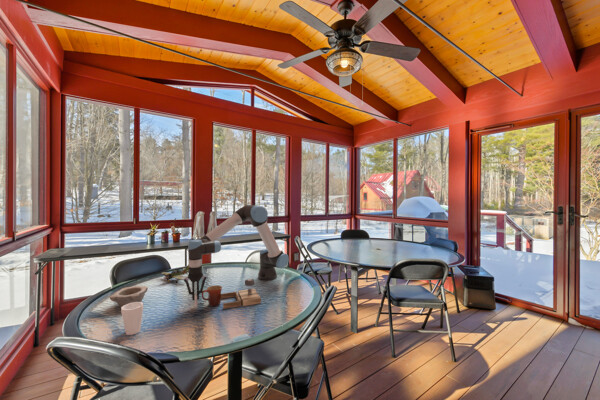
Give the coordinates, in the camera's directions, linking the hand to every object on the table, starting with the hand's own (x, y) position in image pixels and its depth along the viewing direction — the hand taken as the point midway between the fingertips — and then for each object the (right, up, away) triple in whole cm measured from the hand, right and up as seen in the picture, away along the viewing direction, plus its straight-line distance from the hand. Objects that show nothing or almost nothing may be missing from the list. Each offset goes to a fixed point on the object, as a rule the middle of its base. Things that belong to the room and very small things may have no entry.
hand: (195, 305), depth 161 cm
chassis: (+25, -1, +10) cm, 27 cm away
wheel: (+30, +9, +12) cm, 34 cm away
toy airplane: (-34, -1, +53) cm, 63 cm away
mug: (+8, -1, +4) cm, 9 cm away
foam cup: (-21, -3, -27) cm, 34 cm away
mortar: (-42, -2, +5) cm, 43 cm away
